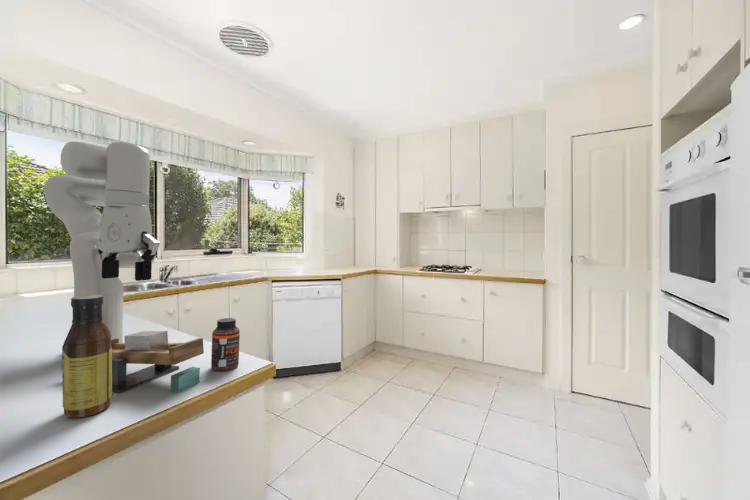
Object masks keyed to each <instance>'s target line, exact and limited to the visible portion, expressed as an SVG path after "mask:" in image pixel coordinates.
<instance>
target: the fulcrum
mask: <svg viewBox="0 0 750 500" xmlns="http://www.w3.org/2000/svg"><path fill="white" fill-rule="evenodd" d="M127 364H128V363H127V359H126V358H120V357H114V358H112V393H114V394H122V393H124V392H126V391H129V390H131V389H134V388H136V387H138V386H141V385H143V384H145V383H149V382H151V381H153V380H157V379H158V378H160V377H163V376H165V375H167V374H168V375H169V374H170V373H172V372H175V371H177V370H179V369H180V366H178V365H164V364H152V365H150V366H148V367H144V368H142V369H138V370H137V371H134V372H130V373H129V374H127V370H128V369H127V367H128V365H127ZM200 370H201V369H200V367H197V366H190V367H188V368H186V369H183V370H181V371H178V372H177V373H174V374H171V375H170V391H171V392H175V393H180V392H182V391H184V390H187V389H188V388H190V387H193V386H194V385H196V384H199V383H200V377H201V376H200Z"/></svg>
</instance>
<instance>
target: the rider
mask: <svg viewBox="0 0 750 500" xmlns="http://www.w3.org/2000/svg"><path fill="white" fill-rule="evenodd" d="M123 336H124V343H125V351H165V350H168V343H169V334H168V330H146V331H145V330H143V331H138V332H136V333H131V334H128V335H123Z"/></svg>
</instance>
